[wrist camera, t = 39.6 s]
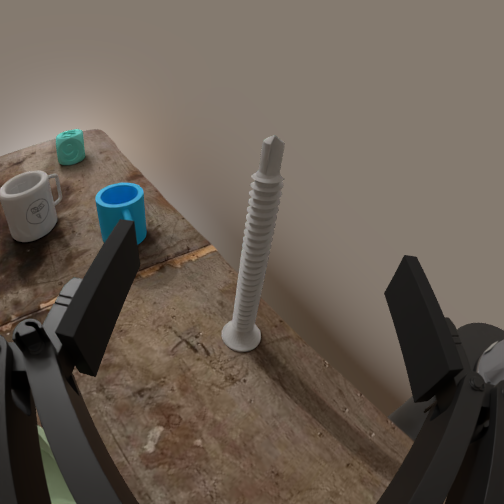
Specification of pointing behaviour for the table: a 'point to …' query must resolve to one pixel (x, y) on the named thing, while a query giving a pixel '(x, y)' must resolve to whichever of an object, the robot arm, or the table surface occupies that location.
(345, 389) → the table surface
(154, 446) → the table surface
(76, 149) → the decorative dice
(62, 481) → the bowl
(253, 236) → the screw
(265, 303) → the table surface
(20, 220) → the mug
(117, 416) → the table surface
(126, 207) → the mug
